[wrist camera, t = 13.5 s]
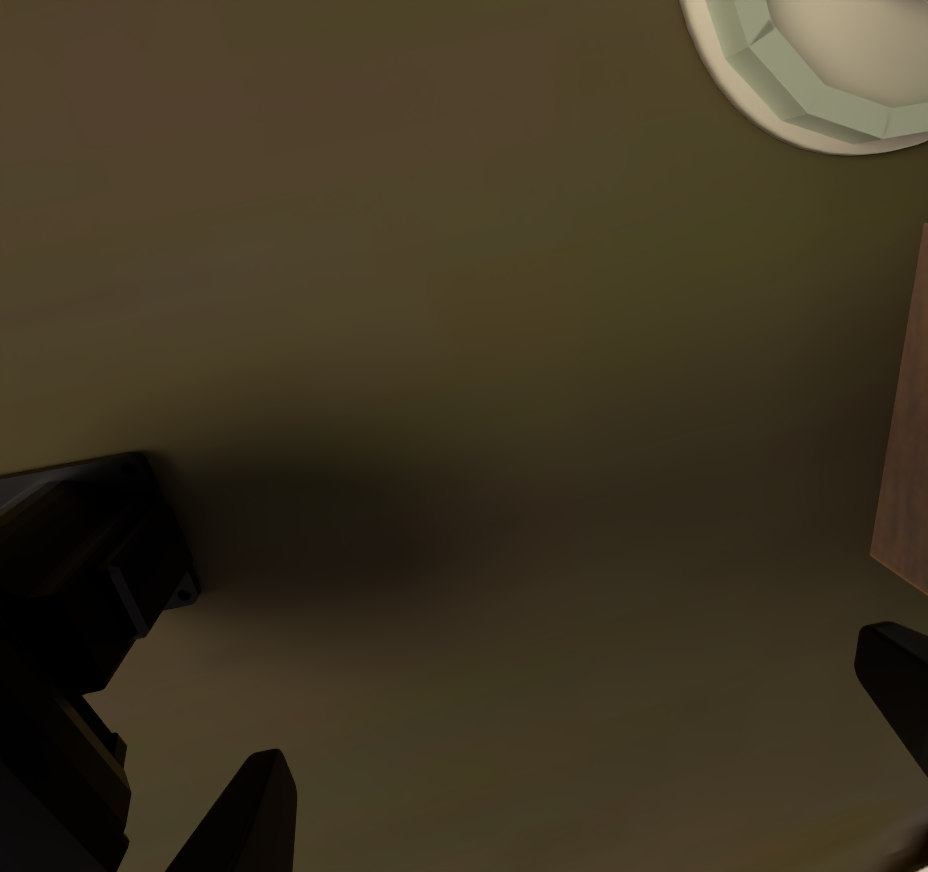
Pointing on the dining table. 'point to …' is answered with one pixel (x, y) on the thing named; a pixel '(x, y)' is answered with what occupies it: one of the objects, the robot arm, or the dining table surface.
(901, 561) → the tissue box cover
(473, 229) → the dining table surface
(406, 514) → the dining table surface
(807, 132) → the round tray
